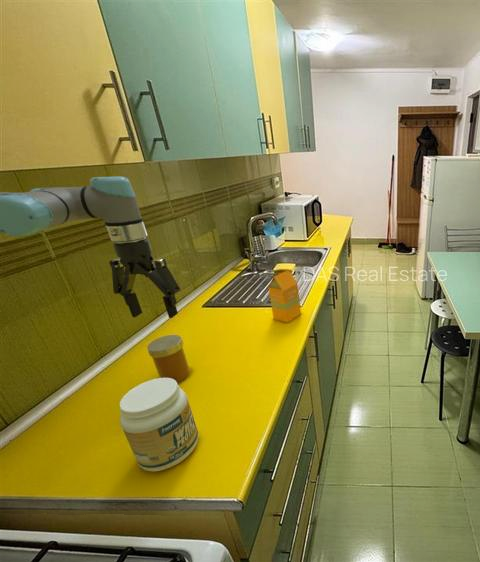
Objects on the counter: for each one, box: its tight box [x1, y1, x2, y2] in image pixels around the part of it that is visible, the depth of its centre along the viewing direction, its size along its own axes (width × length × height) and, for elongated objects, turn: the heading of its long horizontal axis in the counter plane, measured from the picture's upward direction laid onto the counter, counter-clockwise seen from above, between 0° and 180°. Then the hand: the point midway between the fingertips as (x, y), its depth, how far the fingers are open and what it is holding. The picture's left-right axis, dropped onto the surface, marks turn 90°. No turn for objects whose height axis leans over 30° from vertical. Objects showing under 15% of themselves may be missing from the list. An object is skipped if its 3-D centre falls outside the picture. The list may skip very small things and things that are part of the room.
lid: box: [146, 334, 184, 358], centre depth 91 cm, size 9×9×2 cm
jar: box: [151, 346, 191, 384], centre depth 93 cm, size 8×8×12 cm
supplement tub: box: [119, 377, 199, 472], centre depth 68 cm, size 12×12×17 cm
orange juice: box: [268, 269, 302, 324], centre depth 126 cm, size 8×9×20 cm
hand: (155, 315), depth 87 cm, fingers open, 10 cm apart
